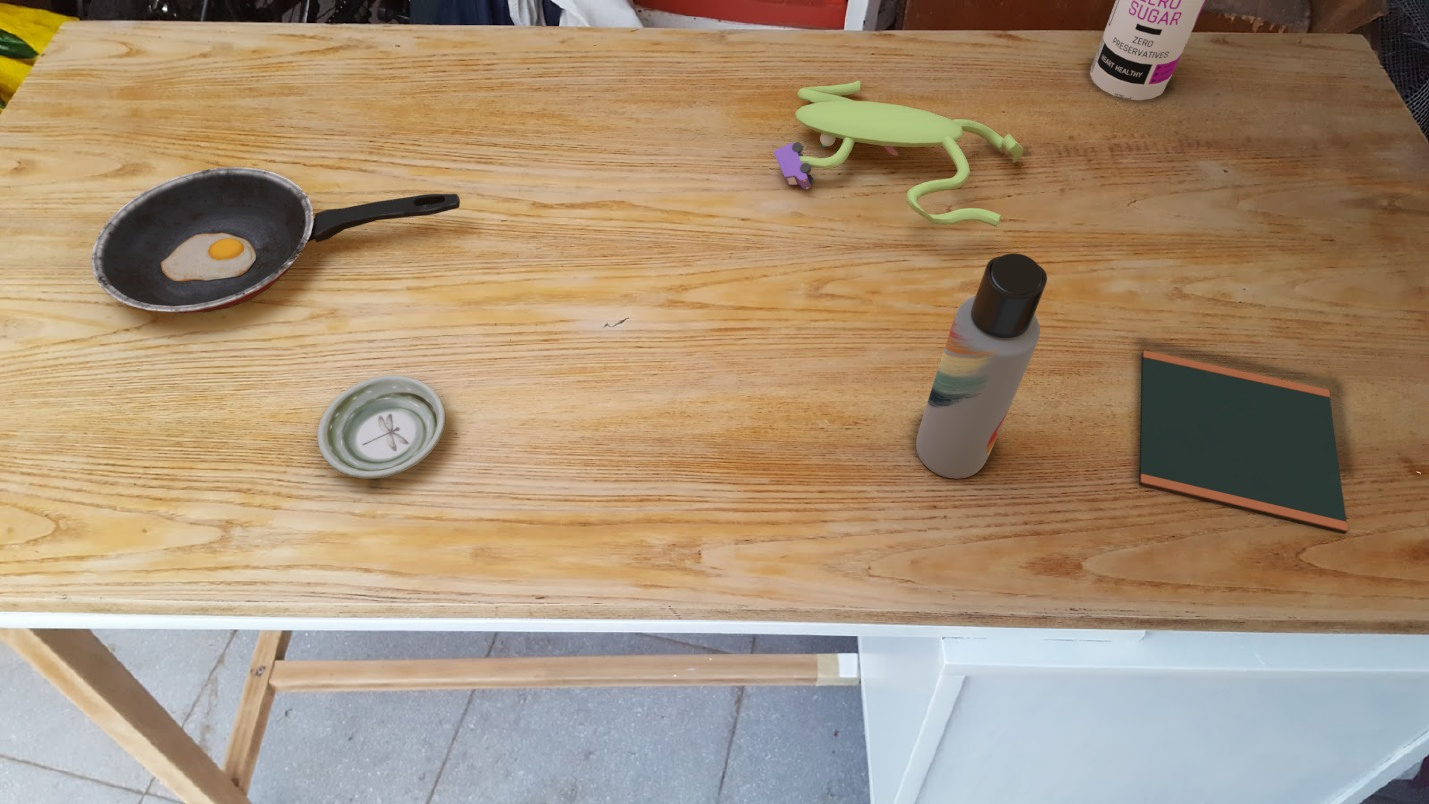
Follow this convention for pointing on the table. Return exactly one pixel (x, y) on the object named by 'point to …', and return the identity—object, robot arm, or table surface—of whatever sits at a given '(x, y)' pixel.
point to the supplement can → (1143, 46)
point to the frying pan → (223, 237)
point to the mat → (1240, 441)
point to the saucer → (381, 427)
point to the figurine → (886, 142)
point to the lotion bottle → (982, 367)
